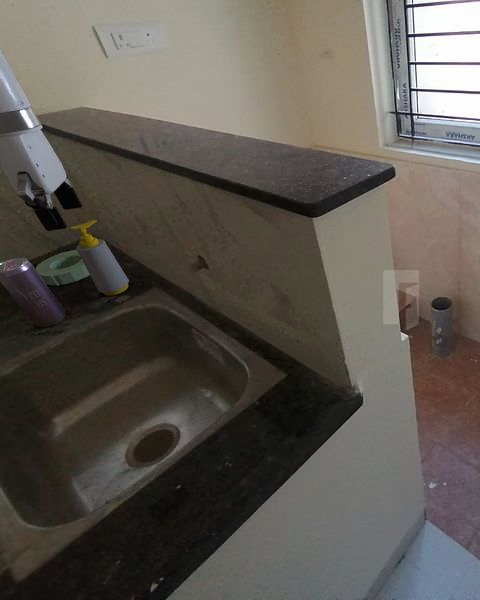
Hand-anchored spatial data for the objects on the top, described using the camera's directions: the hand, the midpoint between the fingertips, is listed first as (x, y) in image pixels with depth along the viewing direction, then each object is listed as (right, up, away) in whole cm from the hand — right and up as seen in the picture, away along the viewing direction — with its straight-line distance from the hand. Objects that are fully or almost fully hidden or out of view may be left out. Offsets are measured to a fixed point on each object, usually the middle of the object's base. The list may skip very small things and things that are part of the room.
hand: (65, 218), depth 74 cm
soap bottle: (-9, -13, +25) cm, 30 cm away
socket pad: (-26, -8, +32) cm, 42 cm away
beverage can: (-17, -20, +16) cm, 31 cm away
